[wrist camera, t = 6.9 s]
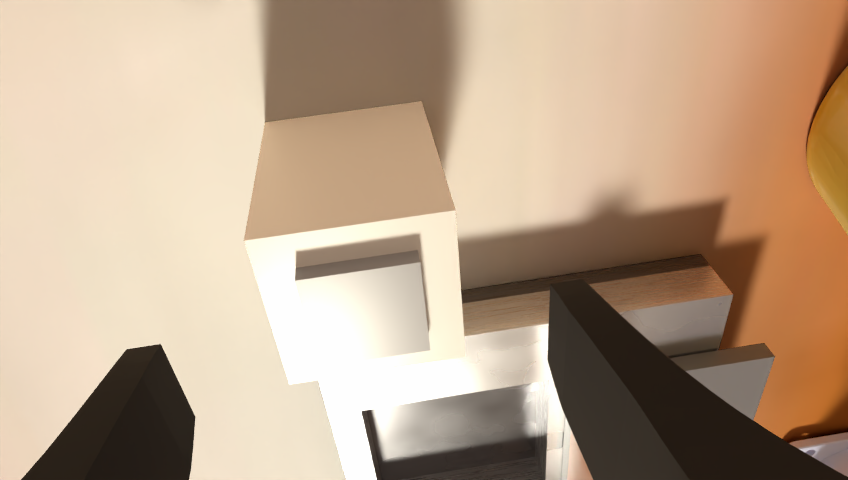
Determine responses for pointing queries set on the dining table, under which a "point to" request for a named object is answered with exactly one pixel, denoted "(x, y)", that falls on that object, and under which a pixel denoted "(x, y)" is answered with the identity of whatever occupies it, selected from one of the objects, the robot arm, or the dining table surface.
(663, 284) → the socket plate
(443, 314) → the plug
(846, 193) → the plant pot
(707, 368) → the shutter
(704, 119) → the dining table surface
